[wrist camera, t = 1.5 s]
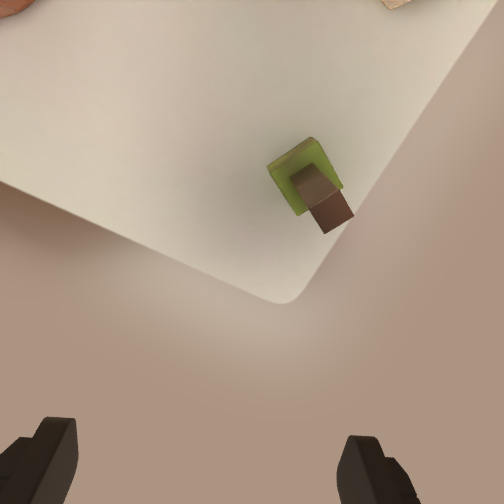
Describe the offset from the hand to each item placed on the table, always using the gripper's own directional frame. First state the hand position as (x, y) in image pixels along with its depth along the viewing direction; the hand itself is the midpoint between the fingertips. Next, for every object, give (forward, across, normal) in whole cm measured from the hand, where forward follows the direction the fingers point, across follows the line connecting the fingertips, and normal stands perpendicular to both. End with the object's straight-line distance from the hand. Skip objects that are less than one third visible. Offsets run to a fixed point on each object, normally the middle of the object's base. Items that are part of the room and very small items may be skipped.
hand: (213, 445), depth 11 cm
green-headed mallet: (+28, -7, -3) cm, 29 cm away
